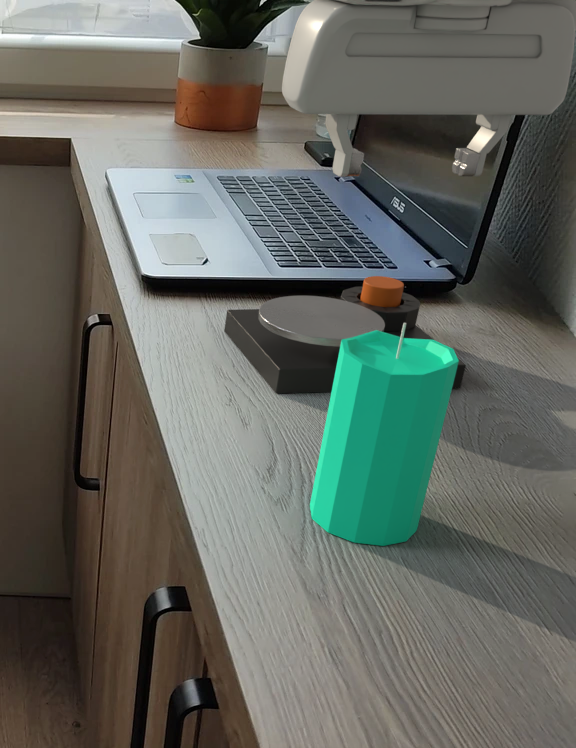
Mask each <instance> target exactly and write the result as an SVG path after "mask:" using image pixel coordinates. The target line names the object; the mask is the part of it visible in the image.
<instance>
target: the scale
mask: <svg viewBox="0 0 576 748" xmlns="http://www.w3.org/2000/svg"><path fill="white" fill-rule="evenodd" d="M362 288H363V286H353V287H350V288H346V289H343V290H342V293H341V295H340V297H339V300H344V301H348V302H351V303H355V304H358V305H360V306H363V307H365V308H368V309H370V310H372V311H373V312H375V313H377V314H378V315H379V316H380V317H381V318H382V319H383V320H384V323H385V328H384V332H385V333H388V334H392V335H395V336H399V337H401V332H402V328H403V323H406V328H405V332H404V337H403V338H411V339H429V340H435V339H434V338H433V337H431V336H430V334H428V333H426V332H425V331H424V330H423V329H421V328H420V327H419V326H418V325H416V324H417V320H418V315H419V312H420V307H421V301H420V300H419V299H418V298H416V297H414V295H412V294H409V293H406V292H403V293H402V297H401V302H400V306H397V307H380V306H374V305H370V304H367V303H364V302H362V301H360V298H361V293H362ZM259 309H260V308H249V309H248V308H247V309H246V308H245V309H243V308H241V309H227V310H226V315H225V322H224V330H223V331H224V333H225V334H226V335H227V337H228V338H229V339H230V340H231V341H232V343H233V344H234V346H236V348H237V349H238V350H239V351H240V352H241V353H242V355H243V356H244V357H245V358H246V359H247V360H248V362H249V363H250V364H251V366H252V367H253V368H254V370H256V372H257V373H258V374H259V375H260V376H261V378H262V379H263V380H264V381H265V382H266V383H267V385H268V387H270V388H271V389H272V391H274V393H275V394H298V393H299V394H300V393H302V394H303V393H331V392H332V387H333V382H334V376H335V371H336V366H337V361H338V355H339V350H340V347H334V346H321V345H314V344H308V343H303V342H299V341H295V340H291V339H288V338H285V337H282V336H280V335H277V334H275V333H273V332H271V331H269V330H268V329H266V328H265V327H264V326H263V325H262V324H261V323H260V321H259V319H258V314H259ZM458 360H459V362H458V366H457V370H456V374H455V378H454V383H453V387H452V390H453V389H461V387H462V383H463V379H464V375H465V371H466V367H467V365H466V364H465V362H464V361H462V360H461V359H459V358H458Z"/></svg>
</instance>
